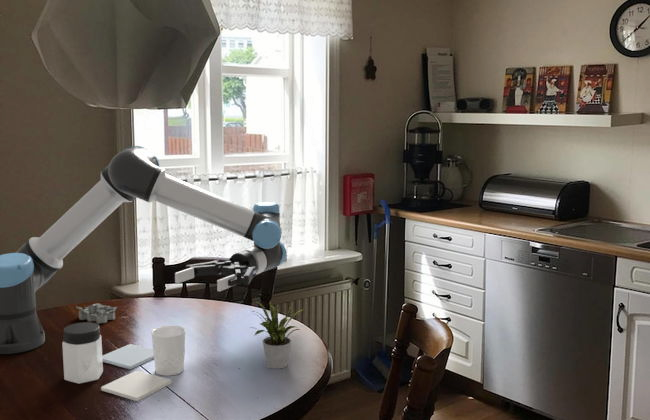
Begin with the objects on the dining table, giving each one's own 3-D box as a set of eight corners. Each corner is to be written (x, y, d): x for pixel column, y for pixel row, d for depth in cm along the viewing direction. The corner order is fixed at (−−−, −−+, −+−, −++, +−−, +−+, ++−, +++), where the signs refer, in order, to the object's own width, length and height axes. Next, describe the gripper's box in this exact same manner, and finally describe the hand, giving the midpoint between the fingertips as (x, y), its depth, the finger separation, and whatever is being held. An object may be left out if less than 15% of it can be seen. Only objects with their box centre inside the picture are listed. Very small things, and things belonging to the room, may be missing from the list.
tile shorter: (101, 390, 158) (101, 386, 158) (136, 373, 167) (136, 370, 167) (137, 401, 153) (136, 397, 152) (171, 383, 162) (171, 380, 162)
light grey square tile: (98, 360, 175) (98, 357, 175) (130, 346, 184) (130, 343, 184) (130, 369, 170) (130, 366, 170) (161, 354, 179) (161, 351, 179)
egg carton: (74, 319, 206) (73, 306, 206) (94, 312, 213) (93, 299, 212) (100, 325, 201) (99, 312, 200) (119, 318, 208) (119, 305, 207)
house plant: (231, 365, 172) (230, 302, 170) (268, 349, 183) (267, 289, 181) (275, 380, 164) (275, 313, 161) (311, 362, 175) (311, 299, 172)
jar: (68, 386, 160) (66, 336, 158) (60, 374, 166) (57, 326, 164) (108, 378, 165) (105, 329, 162) (98, 366, 171) (96, 319, 169)
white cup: (172, 361, 175) (171, 323, 173) (193, 369, 170) (192, 330, 168) (146, 371, 169) (144, 331, 167) (166, 379, 164) (165, 339, 162)
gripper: (284, 283, 188) (237, 304, 170) (211, 271, 200) (160, 289, 182) (284, 256, 186) (236, 274, 168) (211, 245, 199) (158, 261, 180)
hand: (196, 282), depth 175 cm, fingers open, 13 cm apart
